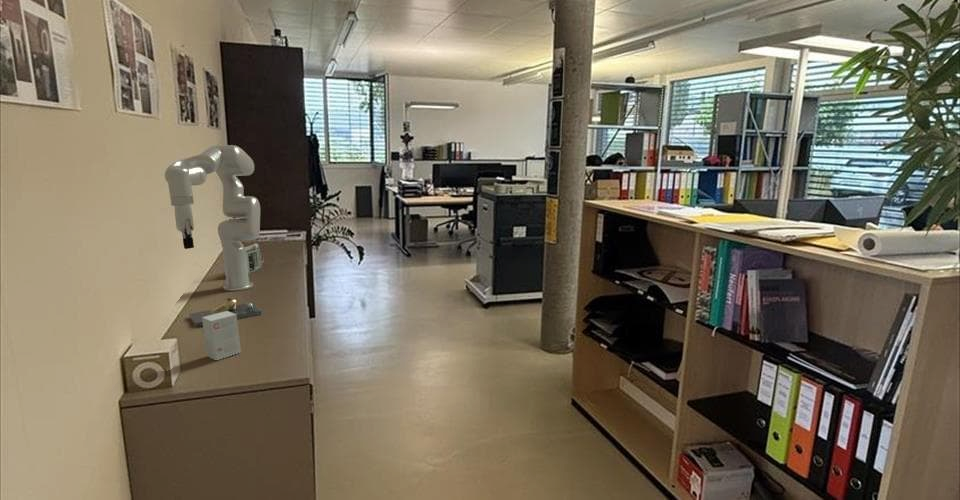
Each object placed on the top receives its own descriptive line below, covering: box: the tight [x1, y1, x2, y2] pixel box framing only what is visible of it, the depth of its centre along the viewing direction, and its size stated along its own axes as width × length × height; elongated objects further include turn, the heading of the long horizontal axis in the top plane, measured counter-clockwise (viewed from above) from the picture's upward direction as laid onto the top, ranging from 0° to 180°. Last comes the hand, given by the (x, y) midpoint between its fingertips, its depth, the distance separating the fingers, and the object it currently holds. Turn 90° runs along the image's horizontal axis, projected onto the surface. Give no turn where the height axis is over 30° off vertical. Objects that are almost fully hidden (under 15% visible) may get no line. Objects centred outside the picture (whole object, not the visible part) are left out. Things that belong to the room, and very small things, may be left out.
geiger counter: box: [244, 243, 265, 274], centre depth 275 cm, size 14×6×25 cm
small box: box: [202, 311, 242, 361], centre depth 165 cm, size 8×6×13 cm
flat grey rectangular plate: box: [188, 301, 262, 328], centre depth 204 cm, size 14×23×4 cm, turn 126°
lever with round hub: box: [210, 297, 238, 315], centre depth 201 cm, size 4×15×4 cm, turn 178°
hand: (189, 248), depth 203 cm, fingers closed
